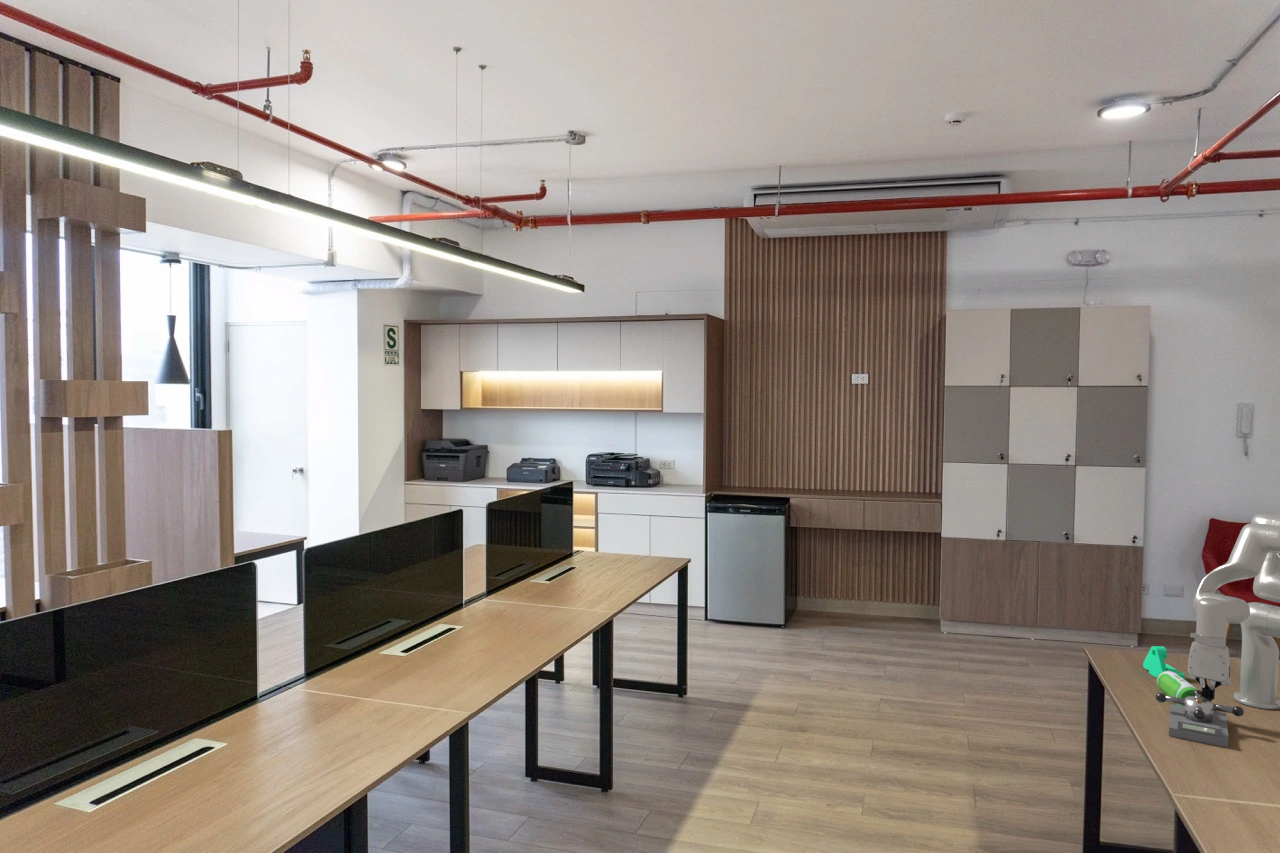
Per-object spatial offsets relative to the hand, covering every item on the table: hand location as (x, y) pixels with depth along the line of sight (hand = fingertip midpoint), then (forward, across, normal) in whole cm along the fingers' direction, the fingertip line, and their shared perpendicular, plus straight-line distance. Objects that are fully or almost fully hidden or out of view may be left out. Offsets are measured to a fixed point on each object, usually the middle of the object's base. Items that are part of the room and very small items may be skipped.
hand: (1207, 700), depth 259 cm
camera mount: (+6, -21, +34) cm, 41 cm away
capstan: (+3, 0, -8) cm, 8 cm away
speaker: (+6, -10, +10) cm, 16 cm away
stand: (+6, 0, -11) cm, 12 cm away
